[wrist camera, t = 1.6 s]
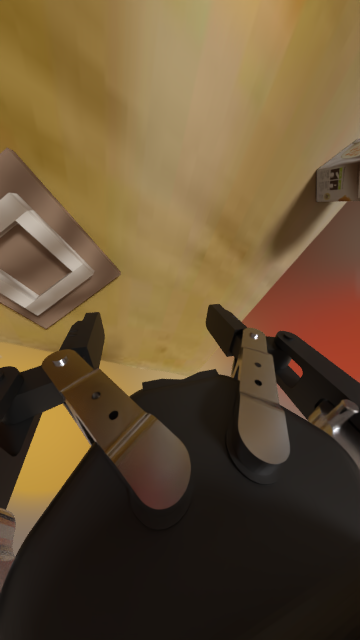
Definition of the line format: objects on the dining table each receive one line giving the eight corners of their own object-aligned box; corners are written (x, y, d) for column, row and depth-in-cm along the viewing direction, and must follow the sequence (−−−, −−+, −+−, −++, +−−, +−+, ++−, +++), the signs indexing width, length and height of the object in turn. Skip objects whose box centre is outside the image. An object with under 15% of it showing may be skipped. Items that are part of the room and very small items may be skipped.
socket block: (-90, 240, 21) (-122, 246, 18) (13, 151, 19) (-4, 142, 16) (48, 324, 32) (42, 335, 29) (120, 271, 30) (120, 278, 28)
